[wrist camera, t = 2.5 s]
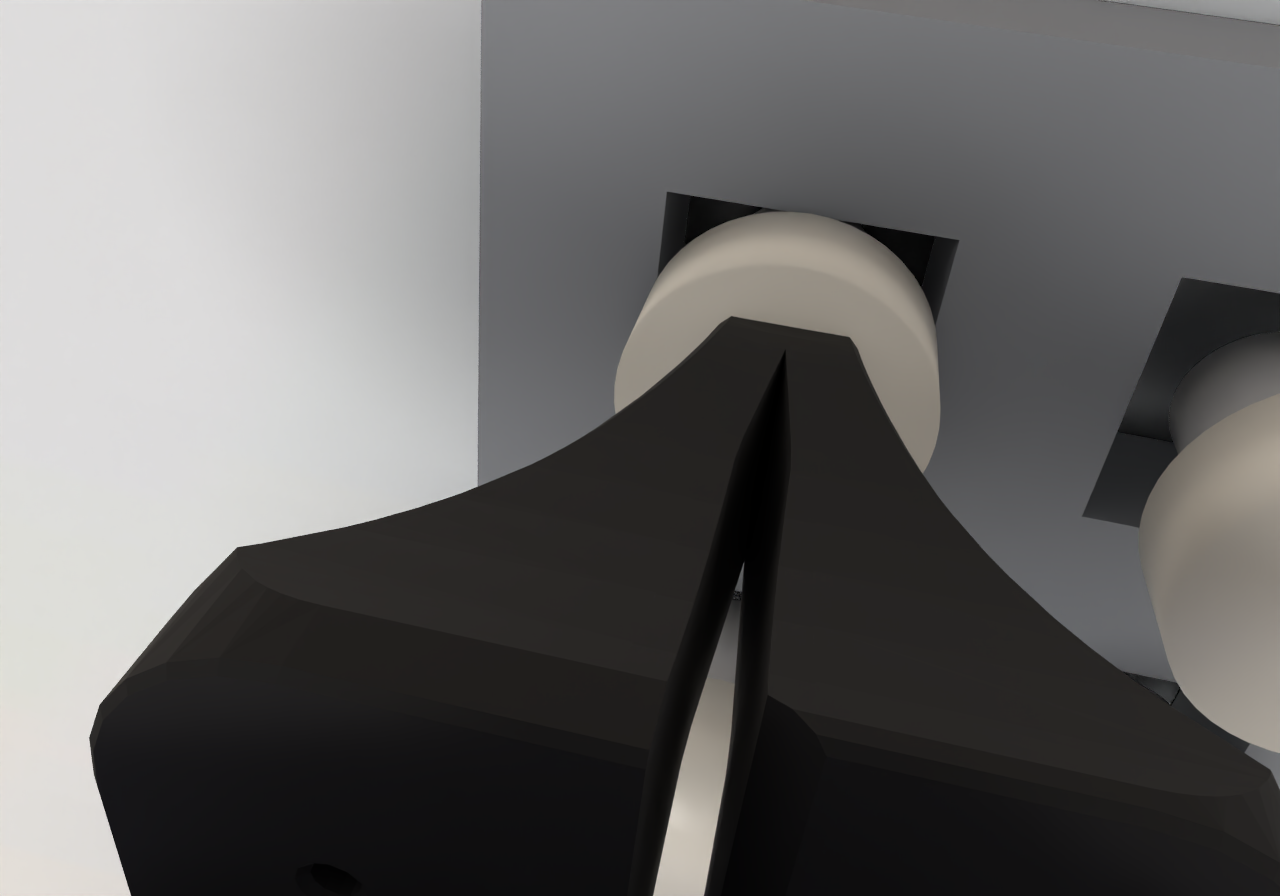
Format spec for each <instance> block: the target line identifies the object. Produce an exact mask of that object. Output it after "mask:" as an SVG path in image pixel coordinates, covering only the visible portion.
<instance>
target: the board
mask: <svg viewBox="0 0 1280 896" xmlns="http://www.w3.org/2000/svg"><path fill="white" fill-rule="evenodd" d="M690 195H691V196H697V197H703V198H709V199H715V200H721V201H727V202H733V203H739V204H745V205H751V206H757V207H763V208H769V209H775V210H781V211H787V212H799V213H809V214H815V215H819V216H823V217H828V218H832V219H835V220H841V221H847V222H853V223H859V224H865V225H871V226H877V227H883V228H889V229H895V230H901V231H908V232H914V233H920V234H926V235H932V236H935V239H934V242H933V246H932V250H931V253H930V257H929V261H928V265H927V268H926V272H925V276H924V280H923V283H922V287H921V288H922V290H923V292H924V294H925V296H926V299H927V301H928V303H929V306H930V308H931V311H932V315H933V319H934V323H935V327H936V337H937V350H938V370H939V390H940V426H939V432H938V437H937V441H936V446H935V448H934V451H933V454H932V456H931V459H930V461H929V464H928V465H927V467H926V469H925V471H924V472H923V475H924V476H925V478H926V479H927V481H928V482H929V484H930V485H931V486H932V488H933V489H934V491H935V492H936V494H937V495H938V497H939V498H940V499H941V501H942V502H943V503H944V504H945V506H946V507H947V508H948V509H949V511H950V512H951V513H952V514H953V516H954V517H955V518H956V519H957V520H958V521H959V522H960V524H961V525H962V526H963V527H964V528H965V529H966V530H967V532H968V533H969V534H970V535H971V536H972V537H973V538H974V540H975V541H976V542H977V543H978V544H979V545H980V546H981V548H982V549H983V550H984V551H985V552H986V553H987V554H988V555H989V556H990V557H991V558H992V559H993V560H994V561H995V562H996V563H997V564H998V565H999V567H1000V568H1001V569H1002V570H1003V571H1004V572H1005V573H1006V574H1007V575H1008V576H1009V577H1010V578H1011V579H1013V580H1014V581H1015V582H1016V583H1017V584H1018V585H1019V586H1020V587H1021V588H1022V589H1023V590H1025V591H1026V592H1027V593H1028V594H1029V595H1030V596H1031V597H1032V598H1033V599H1034V600H1035V601H1036V602H1038V603H1039V604H1040V605H1041V606H1042V607H1043V608H1044V609H1045V610H1046V611H1047V612H1048V613H1049V614H1051V615H1052V616H1053V617H1054V618H1055V619H1056V620H1057V621H1059V622H1060V623H1061V624H1062V625H1063V626H1065V627H1066V628H1067V629H1068V630H1069V631H1071V632H1072V633H1073V634H1074V635H1076V636H1077V637H1078V638H1079V639H1080V640H1082V641H1083V642H1084V643H1085V644H1086V645H1088V646H1089V647H1090V648H1091V649H1093V650H1094V651H1095V652H1097V653H1098V654H1099V655H1101V656H1102V657H1103V658H1105V659H1106V660H1107V661H1109V662H1110V663H1111V664H1113V665H1114V666H1115V667H1117V668H1118V669H1119V670H1121V671H1123V672H1128V673H1133V674H1138V675H1142V676H1147V677H1152V678H1157V679H1161V680H1166V681H1171V682H1176V680H1175V678H1174V676H1173V673H1172V670H1171V667H1170V665H1169V662H1168V659H1167V655H1166V652H1165V648H1164V645H1163V641H1162V638H1161V634H1160V630H1159V627H1158V623H1157V620H1156V616H1155V613H1154V609H1153V606H1152V602H1151V599H1150V595H1149V591H1148V588H1147V584H1146V581H1145V577H1144V574H1143V570H1142V567H1141V561H1140V555H1139V550H1138V547H1139V528H1140V522H1141V517H1142V513H1143V510H1144V508H1145V505H1146V502H1147V499H1148V497H1149V495H1150V493H1151V491H1152V490H1153V488H1154V486H1155V484H1156V482H1157V480H1158V479H1159V478H1160V476H1161V475H1162V474H1163V472H1164V471H1165V470H1166V468H1167V467H1168V466H1169V464H1170V463H1171V462H1172V461H1173V460H1174V459H1175V458H1176V457H1177V456H1178V453H1177V450H1176V447H1175V445H1174V443H1173V442H1168V441H1163V440H1157V439H1152V438H1146V437H1141V436H1135V435H1130V434H1124V433H1119V432H1117V431H1118V429H1119V426H1120V424H1121V422H1122V419H1123V417H1124V414H1125V412H1126V410H1127V407H1128V405H1129V403H1130V400H1131V398H1132V395H1133V393H1134V391H1135V388H1136V386H1137V383H1138V381H1139V379H1140V376H1141V374H1142V371H1143V369H1144V367H1145V364H1146V362H1147V359H1148V357H1149V355H1150V352H1151V350H1152V348H1153V345H1154V343H1155V340H1156V338H1157V336H1158V333H1159V331H1160V328H1161V326H1162V324H1163V321H1164V319H1165V316H1166V314H1167V312H1168V309H1169V307H1170V304H1171V302H1172V300H1173V297H1174V295H1175V292H1176V290H1177V288H1178V285H1179V283H1180V281H1181V278H1182V277H1184V278H1190V279H1196V280H1202V281H1208V282H1214V283H1220V284H1226V285H1232V286H1238V287H1244V288H1250V289H1256V290H1262V291H1268V292H1274V293H1280V25H1273V24H1266V23H1259V22H1252V21H1244V20H1237V19H1230V18H1223V17H1215V16H1208V15H1201V14H1194V13H1187V12H1179V11H1172V10H1165V9H1158V8H1151V7H1143V6H1136V5H1129V4H1122V3H1114V2H1107V1H1100V0H482V5H481V133H480V262H479V390H478V486H481V485H483V484H485V483H488V482H490V481H493V480H495V479H497V478H500V477H502V476H505V475H507V474H509V473H512V472H514V471H517V470H519V469H521V468H524V467H526V466H529V465H531V464H533V463H535V462H537V461H539V460H541V459H543V458H545V457H547V456H549V455H551V454H553V453H555V452H556V451H558V450H560V449H562V448H564V447H566V446H567V445H569V444H571V443H573V442H574V441H576V440H578V439H579V438H581V437H582V436H584V435H586V434H587V433H589V432H590V431H592V430H593V429H595V428H597V427H598V426H600V425H601V424H602V423H604V422H605V421H607V420H608V419H609V418H611V417H612V416H614V415H615V414H616V413H615V406H614V385H615V380H616V374H617V368H618V365H619V362H620V359H621V356H622V353H623V350H624V348H625V346H626V343H627V341H628V339H629V337H630V335H631V333H632V330H633V328H634V326H635V324H636V322H637V319H638V317H639V315H640V313H641V311H642V309H643V306H644V304H645V302H646V300H647V298H648V296H649V293H650V291H651V289H652V287H653V286H654V284H655V282H656V280H657V278H658V276H659V275H660V273H661V272H662V271H663V269H664V268H665V266H666V265H667V264H668V262H669V261H670V260H671V259H672V258H673V257H674V256H675V255H676V254H677V253H678V252H679V251H680V250H681V249H682V248H683V247H684V243H685V235H686V227H687V219H688V211H689V203H690ZM743 570H744V563H743V567H742V570H741V573H740V576H739V579H738V582H737V585H736V589H735V591H740V592H742V582H743ZM1176 683H1177V682H1176ZM1172 707H1173V708H1175V709H1176V710H1178V711H1179V712H1181V713H1182V714H1184V715H1186V716H1187V717H1189V718H1190V719H1192V720H1193V721H1195V722H1197V723H1198V724H1200V725H1201V726H1203V727H1204V728H1206V729H1208V730H1209V731H1211V732H1212V733H1214V734H1215V735H1217V736H1219V737H1220V738H1222V739H1223V740H1225V741H1226V742H1228V743H1230V744H1231V745H1233V746H1234V747H1236V748H1237V749H1239V750H1240V751H1242V752H1244V753H1245V754H1247V755H1248V756H1250V757H1251V758H1253V759H1255V760H1256V761H1258V762H1259V763H1261V764H1262V765H1264V766H1266V767H1267V768H1269V769H1270V770H1271V771H1272V773H1273V775H1274V778H1275V780H1276V782H1277V784H1278V787H1279V789H1280V753H1277V752H1274V751H1270V750H1267V749H1264V748H1262V747H1259V746H1256V745H1254V744H1251V743H1248V742H1246V741H1244V740H1242V739H1240V738H1238V737H1236V736H1234V735H1232V734H1230V733H1228V732H1227V731H1225V730H1224V729H1222V728H1221V727H1219V726H1218V725H1216V724H1215V723H1213V722H1211V721H1210V720H1209V719H1208V718H1207V717H1206V716H1204V715H1203V714H1202V713H1201V712H1200V711H1199V710H1198V709H1196V707H1195V706H1194V705H1193V704H1192V703H1191V702H1190V700H1189V699H1188V698H1187V697H1186V696H1185V695H1184V693H1183V692H1182V690H1181V689H1180V691H1179V693H1178V695H1177V697H1176V698H1175V700H1174V702H1173V704H1172Z"/></svg>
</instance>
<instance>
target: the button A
mask: <svg viewBox="0 0 1280 896" xmlns="http://www.w3.org/2000/svg"><path fill="white" fill-rule="evenodd" d="M740 608H741V600H738V599H733V598H732V601H731V604H730V607H729V610H728V614H727V617H726V620H725V623H724V626H723V629H722V632H721V635H720V638H719V642H718V645H717V648H716V651H715V654H714V657H713V660H712V663H711V666H710V669H709V673H708V676H707V679H706V682H705V685H704V688H703V691H702V694H701V697H700V700H699V704H698V707H697V710H696V713H695V716H694V719H693V722H692V725H691V729H690V733H689V736H688V740H687V744H686V747H685V751H684V755H683V758H682V762H681V767H680V771H679V776H678V781H677V785H676V790H675V795H674V800H673V804H672V809H671V814H670V818H669V823H668V828H667V832H666V837H665V842H664V847H663V851H662V856H661V861H660V866H659V870H658V875H657V880H656V884H655V889H654V894H653V896H704V893H705V887H706V882H707V876H708V871H709V865H710V860H711V854H712V848H713V843H714V837H715V832H716V826H717V821H718V815H719V810H720V804H721V798H722V793H723V787H724V782H725V776H726V769H727V761H728V753H729V745H730V737H731V726H732V713H733V699H734V686H735V673H736V660H737V647H738V634H739V620H740Z"/></svg>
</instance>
